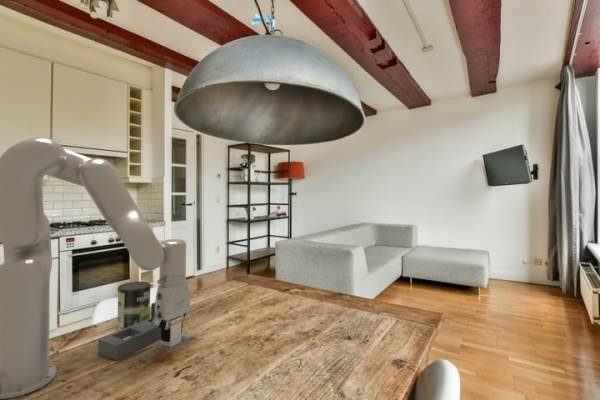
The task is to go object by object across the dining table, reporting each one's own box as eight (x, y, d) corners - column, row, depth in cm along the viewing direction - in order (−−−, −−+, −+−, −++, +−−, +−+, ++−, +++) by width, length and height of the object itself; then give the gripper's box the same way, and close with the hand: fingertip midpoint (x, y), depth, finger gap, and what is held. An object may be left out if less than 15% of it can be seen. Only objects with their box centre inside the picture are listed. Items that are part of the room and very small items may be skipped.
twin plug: (159, 329, 99) (160, 303, 99) (151, 327, 101) (151, 301, 101) (169, 325, 103) (169, 300, 103) (160, 322, 104) (161, 298, 104)
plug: (171, 347, 92) (171, 319, 91) (161, 344, 93) (161, 316, 93) (181, 341, 95) (181, 314, 95) (171, 338, 97) (172, 312, 97)
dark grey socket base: (116, 361, 84) (116, 345, 84) (98, 354, 87) (98, 339, 87) (182, 327, 106) (182, 315, 106) (166, 323, 109) (166, 311, 109)
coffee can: (156, 320, 111) (157, 282, 111) (135, 332, 101) (136, 291, 101) (132, 317, 113) (132, 280, 113) (109, 329, 103) (110, 288, 103)
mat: (170, 353, 89) (170, 351, 89) (151, 346, 92) (151, 345, 92) (190, 341, 96) (190, 340, 96) (172, 336, 100) (172, 334, 99)
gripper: (158, 288, 85) (157, 353, 85) (201, 274, 100) (199, 329, 100) (140, 284, 88) (139, 346, 88) (184, 271, 103) (183, 325, 103)
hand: (171, 337), depth 94 cm, fingers closed on plug, 4 cm apart
